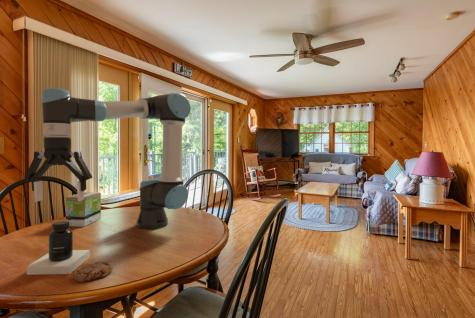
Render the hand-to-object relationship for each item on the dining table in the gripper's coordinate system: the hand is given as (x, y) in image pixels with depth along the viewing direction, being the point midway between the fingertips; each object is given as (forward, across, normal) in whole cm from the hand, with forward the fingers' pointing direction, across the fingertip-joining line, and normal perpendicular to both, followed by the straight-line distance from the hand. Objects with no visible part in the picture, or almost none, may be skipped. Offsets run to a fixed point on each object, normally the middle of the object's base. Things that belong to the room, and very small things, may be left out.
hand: (59, 200), depth 90 cm
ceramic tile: (+22, 0, 0) cm, 22 cm away
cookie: (+22, +14, -7) cm, 27 cm away
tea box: (+22, -17, +50) cm, 57 cm away
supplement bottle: (+20, 0, 0) cm, 20 cm away
